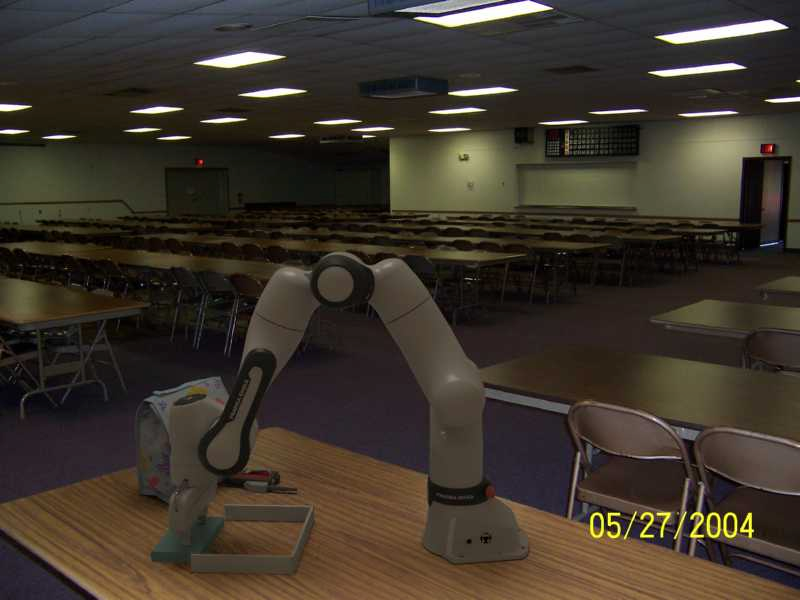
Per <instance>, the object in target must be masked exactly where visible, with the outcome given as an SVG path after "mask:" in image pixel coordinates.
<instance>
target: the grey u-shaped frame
mask: <svg viewBox="0 0 800 600" xmlns="http://www.w3.org/2000/svg"><path fill="white" fill-rule="evenodd" d="M224 521H262V522H263V521H264V522H268V521H269V522H270V521H271V522H304V523H303V525H302V528H301V530H300V533H299V535H298V538H297V540H296V543H295V546H294V548H293V551H292V553H291V555H273V554H271V555H270V554H269V555H265V554H263V555H262V554H260V555H259V554H258V555H257V554H228V553H227V554H226V553H225V554H223V553H221V554H220V553H219V554H217V553H206V554H191V562H190V565H191V566H190V568H191V569H190V570H191V572H192V573H216V574H217V573H221V574H222V573H223V574H225V573H226V574H260V575H262V574H267V575H270V574H271V575H295V573H296V570H297V568H298V565H299V562H300V560H301V557H302V554H303V552H304V549H305V546H306V543H307V542H308V538H309V535H310V533H311V531H312V530H311V529H312V527H313V525H314V522H315V506H314V505H290V504H289V505H284V504H281V505H280V504H279V505H278V504H239V503H235V504H234V503H231V504H230V503H229V504H227V503H226V504H224Z"/></svg>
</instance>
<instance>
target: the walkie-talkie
mask: <svg viewBox="0 0 800 600" xmlns="http://www.w3.org/2000/svg"><path fill="white" fill-rule="evenodd" d="M280 482H281V475H280V474H279V471H278V470H273V469H272V468H271V467H268V466H267V467H265V466H264V467H263V466H254V467H253V468H248V467H247V466H245V468H244V469H243V470H242V471H241V472H239V473H237V474H235V475H232V476H229V478H228V479H226V480H224V481H223V483H224V485H228V486H229V487H233V488H245V489H246V490H247V491H249V492H251V493H253V492H254V493H263V494H266V493H267V492H269V491H270V492H272V491H273V492H274V491H275V492H288V491H289V492H298V488H297V487H289V486H288V487H287V486H286V487H285V486H275V485H276V484H278V483H280Z"/></svg>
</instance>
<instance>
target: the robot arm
mask: <svg viewBox="0 0 800 600" xmlns="http://www.w3.org/2000/svg"><path fill="white" fill-rule="evenodd" d="M364 304H369V305H370V306H371V307H372V308H373V309H374V310H375V311H376V313H377V314H378V316H379V317H380V319H381V320H382V322H383V324H384V326H385V327H386V329H387V330H388V332H389V334H390V336H391V337H392V339H393V340H394V342H395V343H396V345H397V346H398V348H399V349H400V351H401V353H402V355H403V356H404V358H405V360H406V362H407V364H408V366H409V368H410V369H411V372H412V373H413V375H414V378H415V379H416V381H417V383H418V384H419V386H420V388H421V390H422V392H423V394H424V396H425V398H426V399H427V401H428V403H429V475H428V476H427V482H426V501H427V504H428V507H427V516H426V521H425V526H424V531H423V534H422V536H421V543H422V545H423V547H424V548H425V549H427V550H428V551H429V552H431V553H433V554H435V555H438V556H440V557H443V558H445V559H446V560H448V561H449V562H450V563H452V564H457V565H458V564H459V565H460V564H471V563H485V562H495V561H496V562H497V561H509V560H520V559H521V560H522V559H524V558H525V557H527V555H528V553H529V552H530V542H529V537H528V535H527V533H526V531H525V530H524V529H523V527H521V526H519V525H518V521H517V517H516V515H515V512H514V511H513V509H512V508H511V507H510V506H509V505H507V504H506V503H504V502H503V501H502V500H500V499H499V498H498V497H496V488H495V487H494V486H493V483H492V481H491V480H490V477H489V475H486V477H485V476H483V468H484V466H483V461H484V460H483V457H484V455H483V454H484V440H483V439H484V437H483V410H484V408H485V405H486V401H487V400H486V399H487V398H486V397H487V394H486V393H487V392H486V390H485V385H484V382H483V381H484V380H483V377H482V375H481V371H480V369H479V367H478V366H477V365H476V364H475V363H474V361H472V360H471V359H469V358H468V357H467V355H466V353H465V351H464V350H463V348H462V346H461V344H460V343H459V341H458V339H457V338H456V335H455V334H454V332H453V329H452V328H451V326H450V324H449V322H448V321H447V320H446V318H445V317H444V314H443V313H442V312H441V310H440V308H439V307H438V305H437V303H436V302H435V301H434V299H433V297H432V296H431V294H430V292H429V291H428V289H427V287H426V286H425V284H423V282H422V280H421V279H420V278H419V277H418V276H417V274H416V273H415V272H414V271H413V270H412V269H411V267H409V265H408V264H407V262H405V261H404V260H402V259H400V258H397V257H396V258H395V257H394V258H393V257H392V258H386V259H383V260H381V261H379V262H377V263H375V264H372V265H369V264H366V262H364V260H363V259H362V258H361V257H360V256H358V255H357V254H355V253H353V252H351V251H334V252H330V253H328V254H326V255H325V256H323V257H322V258H321V259H320V260H319V261H318V262H317V263H315V265H314V267H312V268H311V269H310V270H303V269H301V268H298V267H294V266H283V267H281V268H279V269H277V270H276V271H275V272H274V273H273V275H272V276H271V278H270V279H269V281H268V282H267V284H266V286H265V288H264V289H263V291H262V293H261V294H260V297H259V299H258V301H257V303H256V305H255V308H254V311H253V314H252V315H251V318H250V322H249V325H248V327H247V328H248V329H247V332H246V336H245V342H244V347H243V351H242V356H241V360H240V364H239V365H240V366H239V369H238V373H237V376H236V379H235V382H234V385H233V387H232V389H231V391H230V394H229V398H228V401H227V403H226V405H223V404H221V403H218V402H216V401H214V400H213V399H211V398H210V397H209V396H208V395H206V394H192V395H188V396H185V397H183V398H180V399H179V400H177V401H176V402H175V403H174V404H173V405H172V406H171V409H170V414H169V442H170V445H171V455H170V474H171V483H172V484H174V485H176V486H177V488H176V490H175V492H174V493H173V494H172V496H171V498H170V502H169V504H168V530H170V532H171V533H178V534H180V536H181V538H182V545H183V546H190V545H191V543H192V541H193V539H192V538H193V535H191V533H190V530H191V527H192V525H193V524H194V522H195V521H196V520H197V524H198V525H204V524H205V523H206V522H207V517H208V514H209V513H208V511H209V506H210V502H211V501H212V500H213V498H214V497H215V496H216V493H217V488H218V484H217V475H218V476H232V475H235V474H237V473H239V472H241V471H242V470H243V469H244V468H245V467H247V465H248V463H249V460H250V457H251V453H252V450H253V449H254V447H255V444H256V442H257V439H258V437H259V434H260V426H259V425H260V424H259V422H258V420H257V415H258V412H259V411H260V408H261V405H262V403H263V401H264V398H265V396H266V393H267V392H268V391H269V388H270V386H271V385H272V383H273V381H274V380H275V379H276V378H277V376H278V375H279V373H281V370H283V368H284V367H285V366H286V364H287V363H288V362H289V360H290V359H291V357H292V356H293V355H294V353H295V351H296V350H297V348H298V346H299V344H300V342H301V341H302V339H303V337H304V334H305V332H306V330H307V327H308V326H309V325H308V324H309V322H310V319H311V318H312V315H313V314H314V312H315V310H316V309H317V308H318V307H319V306H321V305H322V306H323V307H325V308H328V309H331V310H345V309H349V308H352V307H355V306H360V305H364Z"/></svg>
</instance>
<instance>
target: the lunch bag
mask: <svg viewBox="0 0 800 600" xmlns="http://www.w3.org/2000/svg"><path fill="white" fill-rule="evenodd" d="M152 394H153V395H152V396H151V395H150V396H149V397H147V398H145V399H143V401H142V402H141V404H140V405H139V407H138V408H137V410H136V413H135V414H136V415H135V422H134V431H135V433H134V434H135V435H134V436H135V450H136V453H135V454H136V471H137V487H138V493H139V494H142V495H145V496H156V497H157V498H159V499H161V500H163V502H165V503H167V504H168V505H169V502H170V498H171V496H172V494H173V493H174V492H175V490H176V488H177V486H176V485H174V484H172V483H171V474H170V455H171V445H170V442H169V414H170V409H171V406H172V405H173V404H174V403H175V402H176V401H177V400H179V399H180V398H183V397H185V396H188V395H192V394H206V395H208V396H209V397H210V398H211V399H213V400H214V401H216V402H218V403H221V404H223V405H226V403H227V401H228V398H229V396H230V394H229V393H228V391H227V389H226V387H225V385H224V383H223V381H222V379H221V376H212V377H211V376H210V377H207V378H202V379H197V380H192V381H188V382H186V383H183V384H181V385H179V386H178V387H174V388H170V389H166V390H162V391H161V390H160V391H159V390H155V391H152ZM225 480H229V476H218V475H217V485H218V484H219V483H220V484H221V483H222V482H224V481H225Z"/></svg>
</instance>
